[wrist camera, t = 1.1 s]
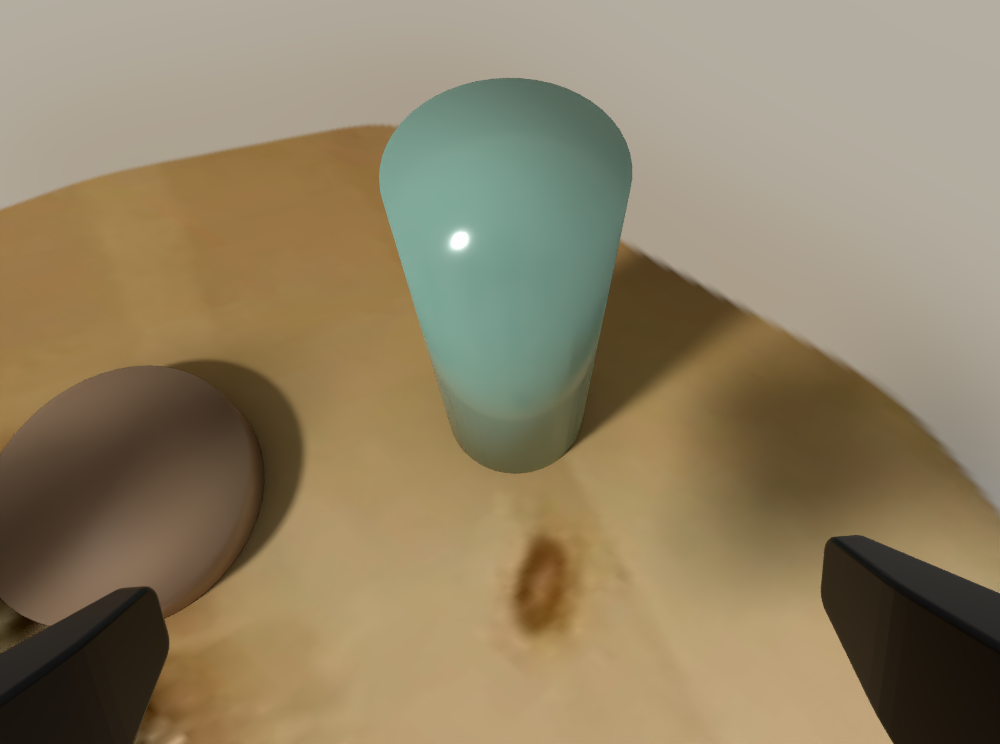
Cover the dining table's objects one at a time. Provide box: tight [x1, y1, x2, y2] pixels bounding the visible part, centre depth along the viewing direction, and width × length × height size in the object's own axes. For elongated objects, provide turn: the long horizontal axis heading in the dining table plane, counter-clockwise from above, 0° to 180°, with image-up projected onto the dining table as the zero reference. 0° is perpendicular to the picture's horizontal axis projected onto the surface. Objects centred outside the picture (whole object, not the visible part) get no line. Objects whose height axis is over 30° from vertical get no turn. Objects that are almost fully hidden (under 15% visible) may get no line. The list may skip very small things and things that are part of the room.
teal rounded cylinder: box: [379, 78, 632, 473], centre depth 18 cm, size 5×5×12 cm
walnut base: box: [0, 366, 264, 626], centre depth 22 cm, size 9×9×2 cm
